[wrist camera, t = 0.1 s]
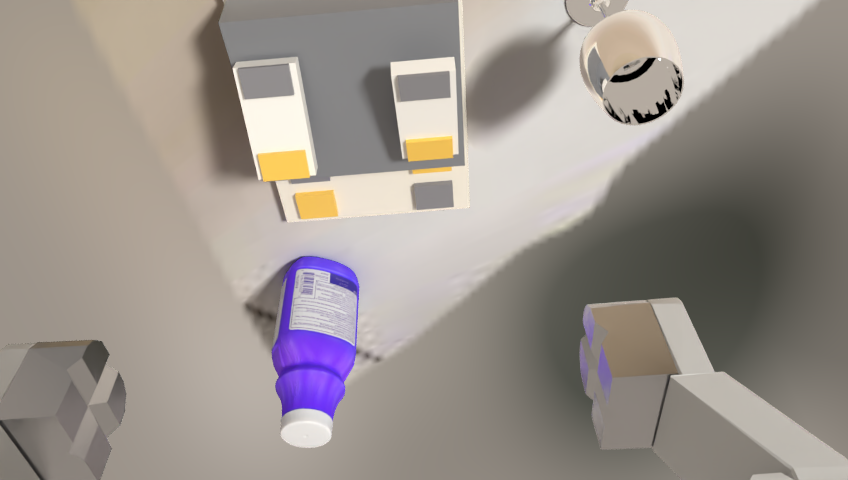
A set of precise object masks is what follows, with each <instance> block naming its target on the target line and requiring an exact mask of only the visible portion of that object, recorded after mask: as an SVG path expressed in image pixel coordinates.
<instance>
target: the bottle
mask: <svg viewBox="0 0 848 480" xmlns="http://www.w3.org/2000/svg"><path fill="white" fill-rule="evenodd" d="M358 300H359V283H358V280H357V277H356V275H355V273H354V272H353V271H352V270H351V269H350V268H348V267H347V266H345V265H343V264H340V263H338V262H335V261H332V260H328V259H324V258H319V257H302V258H300V259H298V260H297V261H296V262H295V263H293V264H292V266H291V267H290V269H289V271H287V273H286V275H285V277H284V279H283V285H282V288H281V294H280V300H279V306H278V313H277V319H276V326H275V332H274V339H273V345H272V360H273V365H274V367H275V370H276V372H277V374H278V376H279V378H278V379H277V381H276V385H275V387H276V392H277V394H278V396H279V398H280V400H281V403H282V419H281V431H280V435H281V437H282V439H283V440H284V441H285V442H287V443H289V444H291V445H293V446H297V447H304V448H313V447H318V446H322V445H324V444H326V443H327V442H328V441H329V440H330V439H331V436H332V426H333V416H334V412H335V409H336V407H337V405H338V403H339V402H340V401H341V400H342V398H343V396H344V394H345V385H344V381H345V380H346V378H347V376H348V375H349V373H350V371H351V369H352V367H353V365H354V361H355V356H356V339H357V320H358Z"/></svg>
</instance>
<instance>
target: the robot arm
mask: <svg viewBox="0 0 848 480" xmlns="http://www.w3.org/2000/svg"><path fill="white" fill-rule="evenodd" d="M583 323H584V327H585V330H586V335H585V336H584V337H583V338H582V339H581V343H580V369H581V375H582V381H583V385H584V389H585V392H586V395H588V396H589V397H590V398H591V399H593V400H594V402H593V409H592V419H593V423H594V427H595V430H596V433H597V437H598V441H599V445H600V448H601V450H607V449H631V448H653V451H654V452H655V453H656V454H657V455H658V456H659V457H660V458H661V459H662V460H663V461H664V462H665V463H666V464H667V465H668V466H669V468H670V469H671V470H672V471H674V472H675V474H676V475H677V476H678V477H679V478H680V479H681V480H848V459H846V458H845V457H844V456H842V455H841V454H839V453H838V452H837V451H835V450H834V449H832V448H831V447H829V446H828V445H827V444H825V443H824V442H822V441H821V440H819V439H818V438H816V437H815V436H814V435H812V434H811V433H810V432H808V431H807V430H805V429H804V428H802V427H801V426H800V425H798V424H797V423H796V422H794V421H793V420H791V419H790V418H788V417H787V416H785V415H784V414H783V413H781V412H780V411H779V410H777V409H776V408H774V407H773V406H771V405H770V404H769V403H767V402H765V401H764V400H763V399H761V398H760V397H759V396H757V395H756V394H754V393H753V392H752V391H750V390H749V389H747V388H746V387H745V386H743V385H742V384H740V383H739V382H738V381H736V380H735V379H733V378H732V377H730V376H729V375H728V374H726V373H724V372H714V370H713V368H712V366H711V363H710V361H709V359H708V357H707V355H706V353H705V351H704V348H703V346H702V344H701V342H700V340H699V338H698V335H697V333H696V331H695V329H694V327H693V325H692V323H691V320H690V318H689V316H688V314H687V312H686V310H685V307H684V306H683V304H682V301H680V300H679V299H678V298H664V299H652V300H646V301H645V300H640V301H626V302H614V303H601V304H589V305H586V307H585V310H584V315H583ZM108 357H109V352H108V351H107V349H106V348H105V346H104V344H103V342H102V341H98V340H83V341H82V340H81V341H59V342H38V343H27V344H8V345H6V346H5V347H4V348H2V349H1V350H0V480H100V479H101V477H102V474H103V471H104V468H105V466H106V463H107V460H108V458H109V455H110V452H111V449H112V448H111V446H110V444H109V441H108V439H107V437H108V436H109V435H110V434H112V433H113V432H114V431H115V430H116V429H117V428H118V427H119V426H120V424H121V422H122V419H123V416H124V413H125V403H126V391H125V387H124V381H123V380H122V377H121V375H120V373H119V372H118V371H116V370H115V369H113V368H112V367H110V366H108V365H107V364H106V362H107V359H108Z"/></svg>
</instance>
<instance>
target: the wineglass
mask: <svg viewBox="0 0 848 480" xmlns="http://www.w3.org/2000/svg"><path fill="white" fill-rule="evenodd" d="M628 1H629V0H566V7H567V11H568V13H569V15H570V16H571V18H572V19H573V20H575V21H576V22H577V23H579V24H581V25H584V26H593V27H592V29H591V30H590V31H589V33H588V34H587V36H586V37H585V39H584V41H583V44H582V47H581V50H580V57H579V63H580V72H581V76H582V79H583V82H584V84H585V86H586V89H587V90H588V92H589V94H590V95H591V97H592V98H593V99H594V101H595V102H596V103H597V104H598V106H599V107H600V108H601V109H602V110H603V111H604V112H605V113H606V114H607V115H608V116H609V117H611V118H612V119H613V120H615V121H617V122H619V123H621V124H626V125H642V124H646V123H650V122H652V121H655V120H657V119H659V118H660V117H662V116H664V115H665V114H666V113H667V112H669V111H670V110H671V109H672V108H673V107H674V106H675V104H676V103H677V101H678V100H679V98H680V97H681V94H682V91H683V85H684V76H683V66H682V60H681V55H680V51H679V48H678V45H677V42H676V40H675V38H674V36H673V34H672V33H671V31H670V29H669V28H668V27H667V26H666V25H665V24H664V23H663V22H662V21H661V20H660V19H658V18H657V17H656V16H654V15H652V14H650V13H648V12H645V11H641V10H624V8H625V7H626V5H627V3H628Z"/></svg>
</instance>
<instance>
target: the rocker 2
mask: <svg viewBox="0 0 848 480" xmlns="http://www.w3.org/2000/svg"><path fill="white" fill-rule="evenodd" d="M391 79H392V86H393V93H394V101H395V108H396V115H397V122H398V130H399V137H400V144H401V151H402V158H403V159H407V158H408V162H410V161H422V160H434V159H446V158H453V155H455V154H459V151H458V121H457V91H456V68H455V59H454V57H446V58H434V59H422V60H411V61H399V62H391Z"/></svg>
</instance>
